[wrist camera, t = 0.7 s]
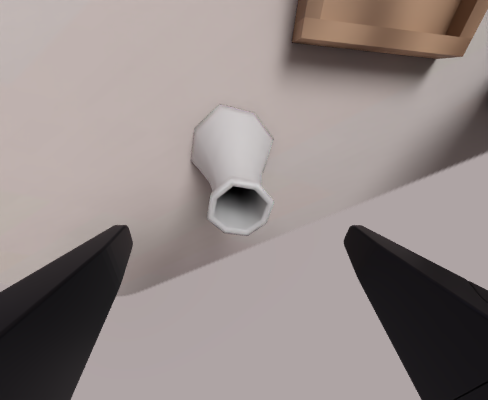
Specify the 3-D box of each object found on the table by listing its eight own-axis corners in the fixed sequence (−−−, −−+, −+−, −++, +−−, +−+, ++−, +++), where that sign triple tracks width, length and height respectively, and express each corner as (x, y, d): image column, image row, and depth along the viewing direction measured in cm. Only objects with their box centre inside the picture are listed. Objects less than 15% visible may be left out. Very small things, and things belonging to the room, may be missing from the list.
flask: (244, 195, 21) (259, 276, 12) (177, 162, 18) (139, 235, 10) (286, 134, 18) (345, 186, 9) (215, 85, 15) (206, 94, 7)
